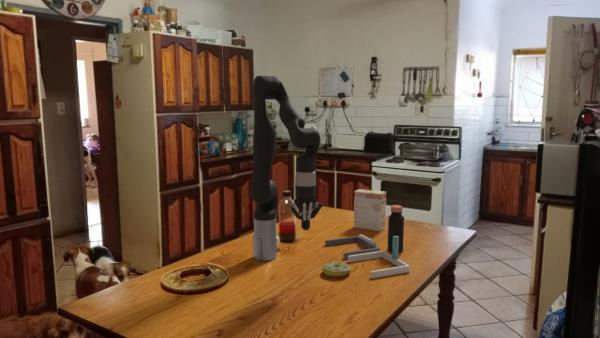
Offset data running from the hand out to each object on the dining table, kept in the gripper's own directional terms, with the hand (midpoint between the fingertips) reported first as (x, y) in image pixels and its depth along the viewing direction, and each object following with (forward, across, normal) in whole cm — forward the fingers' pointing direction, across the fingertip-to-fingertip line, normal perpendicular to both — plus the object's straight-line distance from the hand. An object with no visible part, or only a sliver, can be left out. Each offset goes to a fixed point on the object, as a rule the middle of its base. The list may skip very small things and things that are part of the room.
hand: (305, 229), depth 169 cm
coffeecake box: (+19, -56, -48) cm, 76 cm away
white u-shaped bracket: (+19, -32, 0) cm, 37 cm away
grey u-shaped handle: (+19, -32, -22) cm, 43 cm away
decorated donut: (+19, -13, 0) cm, 23 cm away
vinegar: (+19, -49, -14) cm, 54 cm away
